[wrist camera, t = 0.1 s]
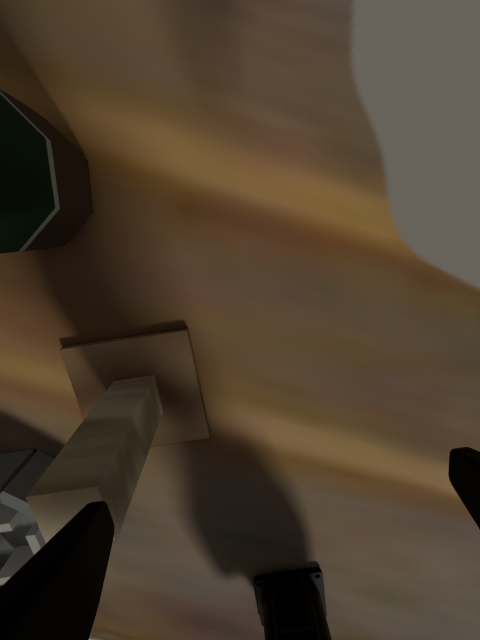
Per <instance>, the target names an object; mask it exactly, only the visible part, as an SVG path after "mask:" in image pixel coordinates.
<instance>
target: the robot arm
mask: <svg viewBox="0 0 480 640" xmlns="http://www.w3.org/2000/svg"><path fill="white" fill-rule="evenodd" d="M449 479H450V482H451V484H452V486H453V487H454V489H455V491H456V492H457V494H458V495H459V497H460V499H461V500H462V502H463V503H464V505H465V507H466V508H467V510H468V511H469V513H470V514H471V516H472V518H473V519H474V521H475V522H476V524H477V526H478V527H479V529H480V452H479V451H476V450H474V449H472V448H469V447H462V448H455V449H452V450H451V451H450V457H449ZM114 531H115V527H114V522H113V519H112V516H111V513H110V510H109V507H108V505H107V503H106V502H105V501H96V502H90V503H88V504H87V505H86V506H84V507H83V508H82V509H81V510H80V511H79V512H78V513H77V514H76V515H75V516H74V517H73V518H72V519H71V520H70V521H69V522H68V523H67V524H66V525H65V526H64V527H63V528H62V529H61V530H59V531H58V532H57V533H56V534H55V535H54V536H53V537H52V538H51V539H50V540H49V541H48V542H47V543H46V544H45V545H44V546H43V547H42V548H41V549H40V550H39V551H38V552H37V553H36V554H34V555H33V556H32V557H31V558H30V559H29V560H28V561H27V562H26V563H25V564H24V565H23V566H22V567H21V568H20V569H19V570H18V571H17V572H16V573H15V574H14V575H13V576H12V577H11V578H10V579H8V580H7V581H6V582H5V583H4V584H3V585H2V586H1V587H0V640H88V639H89V636H90V632H91V629H92V626H93V623H94V619H95V616H96V612H97V609H98V605H99V601H100V597H101V593H102V588H103V583H104V579H105V574H106V570H107V565H108V560H109V556H110V551H111V546H112V542H113V537H114ZM254 588H255V593H256V598H257V603H258V609H259V614H260V619H261V624H262V626H264V633H265V640H332V639H331V635H330V631H329V628H328V624H327V620H326V615H327V614H326V604H325V594H324V584H323V575H322V571H321V569H320V568H311V569H305V570H298V571H291V572H284V573H277V574H271V575H264V576H258V577H255V578H254Z"/></svg>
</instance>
